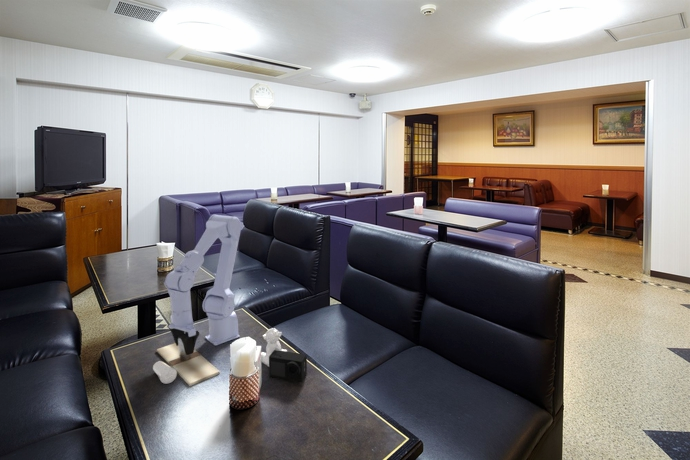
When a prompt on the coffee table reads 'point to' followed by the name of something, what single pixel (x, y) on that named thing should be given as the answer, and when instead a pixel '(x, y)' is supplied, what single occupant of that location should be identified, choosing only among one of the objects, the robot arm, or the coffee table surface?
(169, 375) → the white rounded piece
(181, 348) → the steel peg
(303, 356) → the digital camera
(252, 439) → the coffee table surface
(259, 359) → the ink cartridge box
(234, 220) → the robot arm
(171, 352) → the plywood panel
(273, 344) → the seated beast figurine
